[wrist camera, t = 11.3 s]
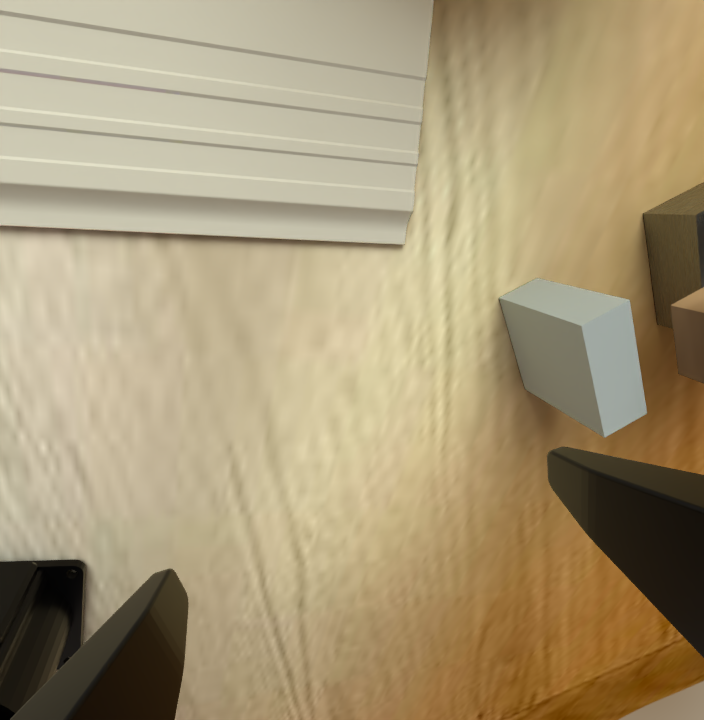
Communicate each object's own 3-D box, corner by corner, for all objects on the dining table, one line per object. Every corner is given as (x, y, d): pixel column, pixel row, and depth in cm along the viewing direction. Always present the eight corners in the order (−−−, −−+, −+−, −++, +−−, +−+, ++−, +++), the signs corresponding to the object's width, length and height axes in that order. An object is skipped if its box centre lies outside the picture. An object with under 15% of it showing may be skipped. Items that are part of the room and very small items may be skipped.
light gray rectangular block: (524, 388, 26) (604, 437, 21) (498, 297, 24) (581, 325, 19) (559, 370, 27) (647, 413, 21) (537, 278, 24) (629, 299, 19)
